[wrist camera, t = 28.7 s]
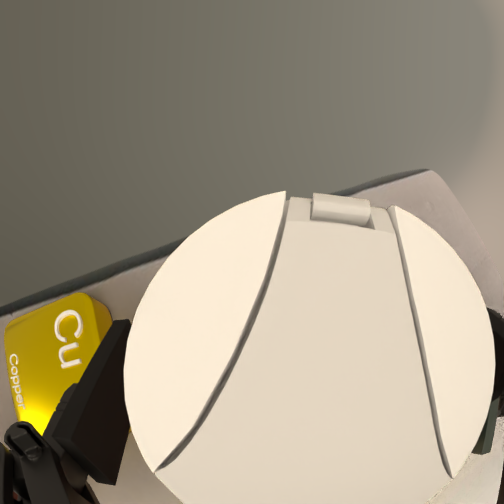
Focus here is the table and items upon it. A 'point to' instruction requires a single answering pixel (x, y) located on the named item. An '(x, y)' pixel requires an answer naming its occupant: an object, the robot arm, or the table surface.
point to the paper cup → (309, 358)
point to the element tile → (52, 353)
